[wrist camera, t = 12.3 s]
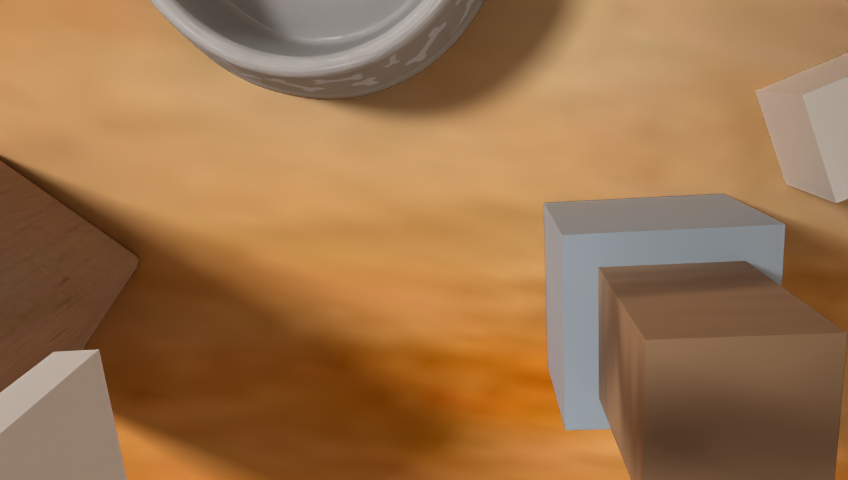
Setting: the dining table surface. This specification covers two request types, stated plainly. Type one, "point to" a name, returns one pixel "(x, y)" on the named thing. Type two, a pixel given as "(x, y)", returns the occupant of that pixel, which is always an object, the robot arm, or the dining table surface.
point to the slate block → (630, 246)
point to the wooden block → (51, 276)
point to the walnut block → (717, 374)
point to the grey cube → (811, 128)
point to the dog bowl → (322, 40)
